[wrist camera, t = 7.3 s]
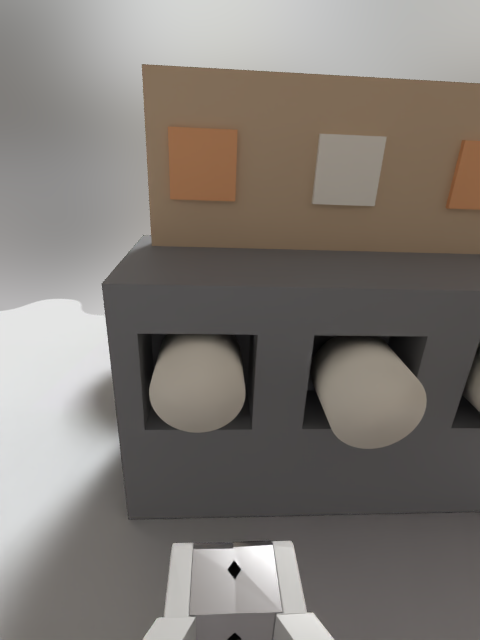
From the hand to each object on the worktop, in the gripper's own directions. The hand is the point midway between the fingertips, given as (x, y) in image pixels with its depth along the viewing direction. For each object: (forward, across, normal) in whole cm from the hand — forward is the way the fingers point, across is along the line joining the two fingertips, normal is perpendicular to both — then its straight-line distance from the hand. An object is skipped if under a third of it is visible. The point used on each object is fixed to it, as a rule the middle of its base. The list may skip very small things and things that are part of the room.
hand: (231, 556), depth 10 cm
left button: (+10, +1, +3) cm, 11 cm away
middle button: (+9, -7, +3) cm, 12 cm away
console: (+14, -7, +10) cm, 19 cm away
